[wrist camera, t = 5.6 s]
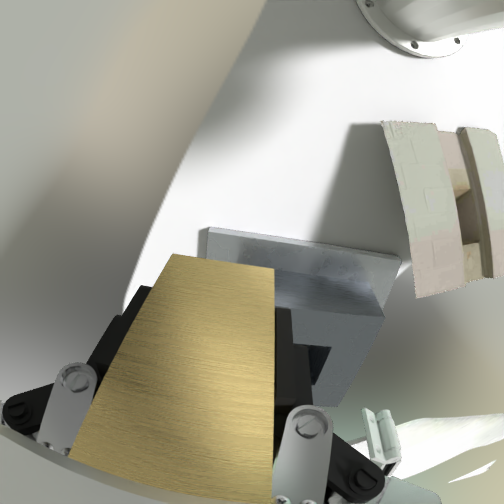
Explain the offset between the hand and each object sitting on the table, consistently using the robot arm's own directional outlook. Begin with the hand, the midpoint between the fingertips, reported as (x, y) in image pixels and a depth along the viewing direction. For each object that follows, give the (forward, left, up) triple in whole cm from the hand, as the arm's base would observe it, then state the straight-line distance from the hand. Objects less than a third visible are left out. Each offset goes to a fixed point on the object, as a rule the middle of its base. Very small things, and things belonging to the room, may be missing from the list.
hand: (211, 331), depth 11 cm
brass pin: (0, 0, -2) cm, 2 cm away
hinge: (+37, +28, -19) cm, 50 cm away
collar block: (+14, +7, -19) cm, 25 cm away
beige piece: (-5, +20, -19) cm, 28 cm away
